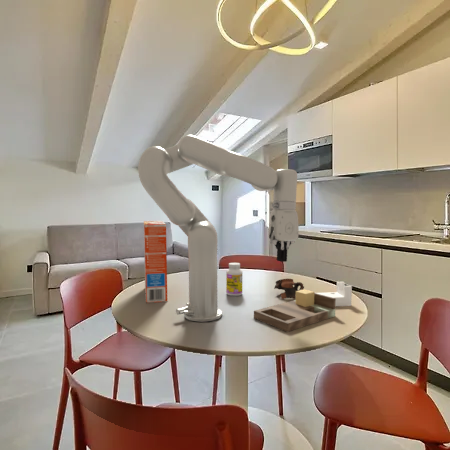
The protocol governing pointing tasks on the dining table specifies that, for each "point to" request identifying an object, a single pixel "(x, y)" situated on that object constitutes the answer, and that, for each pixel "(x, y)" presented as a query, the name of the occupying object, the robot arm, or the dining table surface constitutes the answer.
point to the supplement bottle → (234, 280)
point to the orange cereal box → (155, 261)
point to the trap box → (297, 313)
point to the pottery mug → (288, 287)
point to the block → (305, 298)
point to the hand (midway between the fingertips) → (281, 260)
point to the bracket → (341, 295)
